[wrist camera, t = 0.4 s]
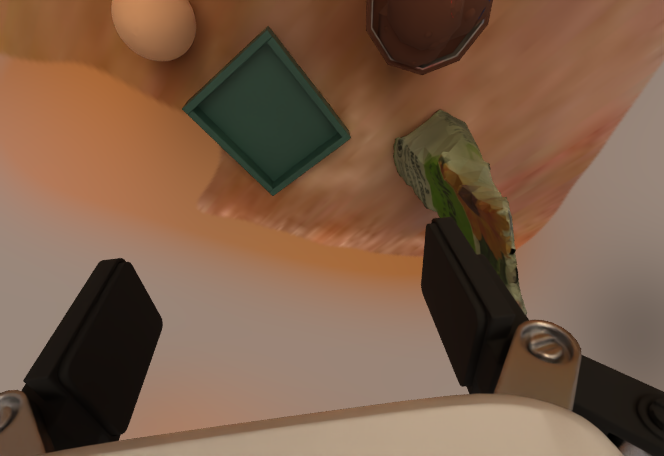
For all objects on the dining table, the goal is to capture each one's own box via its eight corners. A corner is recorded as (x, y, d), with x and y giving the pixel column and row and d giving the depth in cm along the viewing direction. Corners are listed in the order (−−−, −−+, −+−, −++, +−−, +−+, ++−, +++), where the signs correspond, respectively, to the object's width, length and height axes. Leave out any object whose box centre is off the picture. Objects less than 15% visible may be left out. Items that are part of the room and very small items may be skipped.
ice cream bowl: (387, 73, 42) (427, 119, 30) (328, -19, 36) (347, -8, 24) (470, 7, 39) (552, 28, 27) (419, -106, 33) (495, -144, 21)
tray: (186, 101, 42) (181, 109, 40) (268, 25, 38) (266, 29, 36) (273, 186, 49) (272, 196, 47) (348, 130, 45) (351, 138, 43)
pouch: (440, 195, 53) (532, 339, 33) (368, 168, 49) (423, 312, 29) (488, 126, 47) (635, 250, 27) (411, 90, 43) (516, 202, 23)
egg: (215, 40, 38) (197, 55, 31) (157, 61, 39) (126, 81, 31) (181, -36, 34) (152, -39, 27) (117, -11, 35) (71, -7, 28)
